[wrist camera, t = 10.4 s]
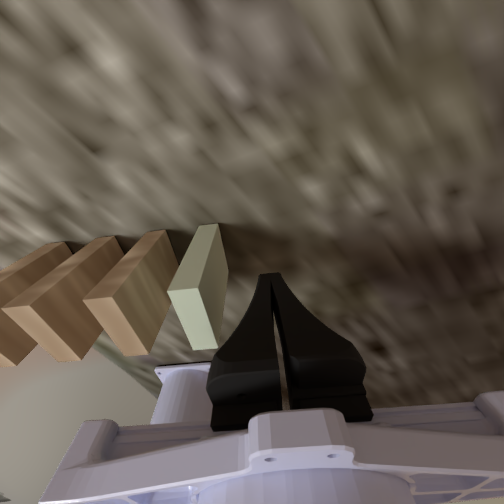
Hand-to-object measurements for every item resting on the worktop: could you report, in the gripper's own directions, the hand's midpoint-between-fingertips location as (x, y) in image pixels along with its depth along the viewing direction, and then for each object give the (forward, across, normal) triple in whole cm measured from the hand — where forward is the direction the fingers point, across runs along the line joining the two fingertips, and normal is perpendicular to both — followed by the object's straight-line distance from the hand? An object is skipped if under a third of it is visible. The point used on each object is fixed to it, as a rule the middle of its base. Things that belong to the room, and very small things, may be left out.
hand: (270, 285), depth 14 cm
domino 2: (+5, +14, 0) cm, 15 cm away
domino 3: (+5, +9, 0) cm, 10 cm away
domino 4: (+5, +4, 0) cm, 7 cm away
